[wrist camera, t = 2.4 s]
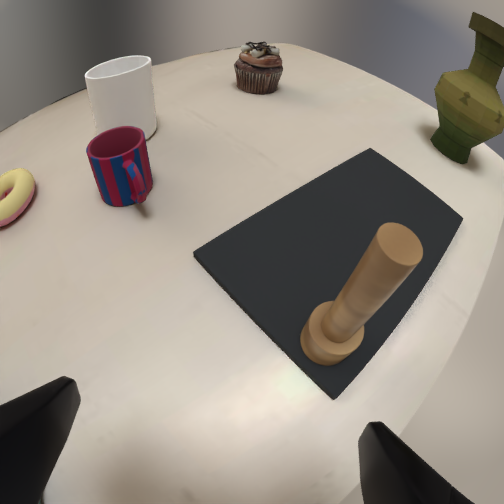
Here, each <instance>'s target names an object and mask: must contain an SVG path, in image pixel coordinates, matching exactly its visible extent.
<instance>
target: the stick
mask: <svg viewBox="0 0 504 504" xmlns="http://www.w3.org/2000/svg"><path fill="white" fill-rule="evenodd" d="M422 256H423V248H422V245H421V242H420V240H419V239H418V237H417V236H416V235H415V234H414V233H413V232H412V231H411V230H410V229H408V228H407V227H405V226H403V225H401V224H398V223H386V224H383V225H382V226H380V228H379V229H378V231H377V233H376V234H375V236H374V238H373V239H372V241H371V243H370V245H369V246H368V248H367V250H366V251H365V253H364V255H363V256H362V258H361V260H360V261H359V263H358V265H357V266H356V268H355V269H354V271H353V273H352V274H351V276H350V277H349V279H348V281H347V282H346V284H345V285H344V287H343V288H342V290H341V292H340V293H339V295H338V296H337V298H336V299H335V301H328V302H325V303H322V304H320V305H319V306H318V307H316V308H315V309H314V311H313V312H312V314H311V316H310V317H309V319H308V321H307V322H306V324H305V326H304V327H303V329H302V332H301V336H300V342H301V347H302V349H303V351H304V353H305V354H306V356H307V357H308V358H309V359H310V360H312V361H313V362H315V363H317V364H320V365H325V366H330V365H335V364H337V363H339V362H341V361H342V360H344V359H345V358H346V357H347V356H348V355H350V354H351V353H352V352H353V351H354V350H355V349H357V348H358V346H359V345H360V344H361V342H362V340H363V336H364V324H365V323H366V322H367V321H368V320H369V319H370V318H371V317H372V316H373V315H374V313H375V312H376V311H377V310H378V309H379V308H380V307H381V306H382V305H383V304H384V303H385V302H386V300H387V299H388V298H389V297H390V296H391V295H392V294H393V293H394V292H395V290H396V289H397V288H398V287H399V286H400V285H401V284H402V282H403V281H404V280H405V279H406V278H407V277H408V275H409V274H410V273H411V272H412V271H413V269H414V268H415V267H416V266H417V265H418V263H419V262H420V261H421V259H422Z"/></svg>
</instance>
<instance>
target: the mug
mask: <svg viewBox="0 0 504 504" xmlns="http://www.w3.org/2000/svg"><path fill="white" fill-rule="evenodd" d="M85 80H86V85H87V90H88V95H89V100H90V104H91V109H92V113H93V118H94V122H95V126H96V130H97V134H98V135H99V134H101V133H102V132H104V131H107V130H109V129H112V128H116V127H120V126H134V127H138V128H140V129H141V130H143V132H144V134H145V140H147V139H148V138H149V137H150V136H151V135H152V134H153V133H154V132H155V130H156V111H155V101H154V91H153V80H152V68H151V59H150V58H149V57H147V56H127V57H122V58H117V59H113V60H110V61H107V62H104V63H102V64H99V65H97V66H95V67H93V68H91V69H90V70H89V71H87V72H86V74H85Z"/></svg>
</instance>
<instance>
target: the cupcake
mask: <svg viewBox="0 0 504 504" xmlns="http://www.w3.org/2000/svg"><path fill="white" fill-rule="evenodd" d="M253 44H258V45H257V46H254V45H253ZM241 50H242V53H240V55H239V59H238V60H237V61H236V63H235V64H234V68H235V72H236V77H237V87H238V88H239V89H241V90H243V91H245V92H249V93H253V94H267V93H273V92H274V91H276V88H277V85H278V82H279V79H280V77H281V75H282V71H283V67H282V60H281V58H280V56H279V49H278V48H276V47H275V46H269V45H267V43H266V42H260V43H252V42H249V43H246V45H244V46H242V47H241Z"/></svg>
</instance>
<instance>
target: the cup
mask: <svg viewBox="0 0 504 504" xmlns="http://www.w3.org/2000/svg"><path fill="white" fill-rule="evenodd" d="M86 152H87V155H88V159H89V162H90V165H91V168H92V171H93V174H94V177H95V180H96V183H97V186H98V189H99V192H100V195H101V197H102V199H103V201H104V202H105V203H107V204H109V205H112V206H127V205H130V204H133V203H137V204H139V203H142V202H143V201H145V200H146V197H147V196H146V195H147V194H148V193H149V191H150V190H151V188H152V185H153V180H152V174H151V169H150V163H149V158H148V152H147V146H146V140H145V134H144V132H143V130H141V129H140V128H138V127H134V126H120V127H116V128H112V129H109V130H107V131H104V132H102V133H101V134H99V135H98V136H96V137H95V138H94V139H93V140H92V141H91V142H90V143H89V144H88V146H87V150H86Z"/></svg>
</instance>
